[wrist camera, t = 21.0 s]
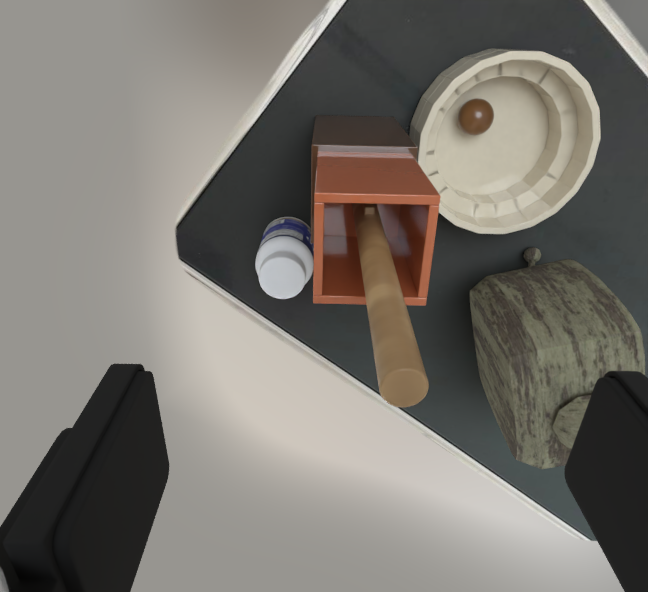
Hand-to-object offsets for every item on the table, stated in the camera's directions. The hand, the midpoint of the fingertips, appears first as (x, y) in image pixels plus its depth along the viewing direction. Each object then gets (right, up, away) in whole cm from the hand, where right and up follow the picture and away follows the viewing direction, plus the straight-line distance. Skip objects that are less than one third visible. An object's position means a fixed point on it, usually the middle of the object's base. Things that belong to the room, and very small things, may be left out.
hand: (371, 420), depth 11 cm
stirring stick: (+2, +9, +23) cm, 25 cm away
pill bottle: (-4, +8, +39) cm, 40 cm away
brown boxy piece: (+2, +16, +35) cm, 38 cm away
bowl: (+14, +17, +34) cm, 41 cm away
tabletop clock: (+18, +2, +42) cm, 46 cm away
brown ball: (+12, +18, +31) cm, 38 cm away
